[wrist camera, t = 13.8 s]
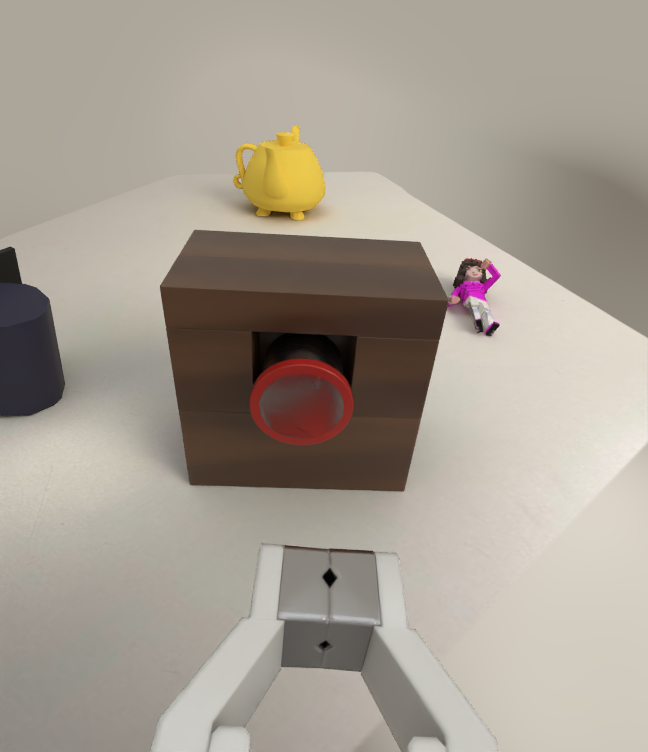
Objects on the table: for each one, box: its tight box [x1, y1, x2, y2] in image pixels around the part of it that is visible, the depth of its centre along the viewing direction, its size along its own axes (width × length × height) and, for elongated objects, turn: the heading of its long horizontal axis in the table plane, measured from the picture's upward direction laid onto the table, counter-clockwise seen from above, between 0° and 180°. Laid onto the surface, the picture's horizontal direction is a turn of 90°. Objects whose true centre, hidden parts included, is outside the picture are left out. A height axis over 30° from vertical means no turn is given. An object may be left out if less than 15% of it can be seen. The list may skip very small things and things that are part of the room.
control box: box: [160, 230, 449, 491], centre depth 31 cm, size 8×14×14 cm, turn 91°
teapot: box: [233, 125, 325, 220], centre depth 75 cm, size 20×15×12 cm
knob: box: [249, 333, 354, 445], centre depth 26 cm, size 4×5×5 cm
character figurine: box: [448, 258, 501, 336], centre depth 52 cm, size 6×5×12 cm
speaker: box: [0, 247, 65, 416], centre depth 35 cm, size 8×6×10 cm
